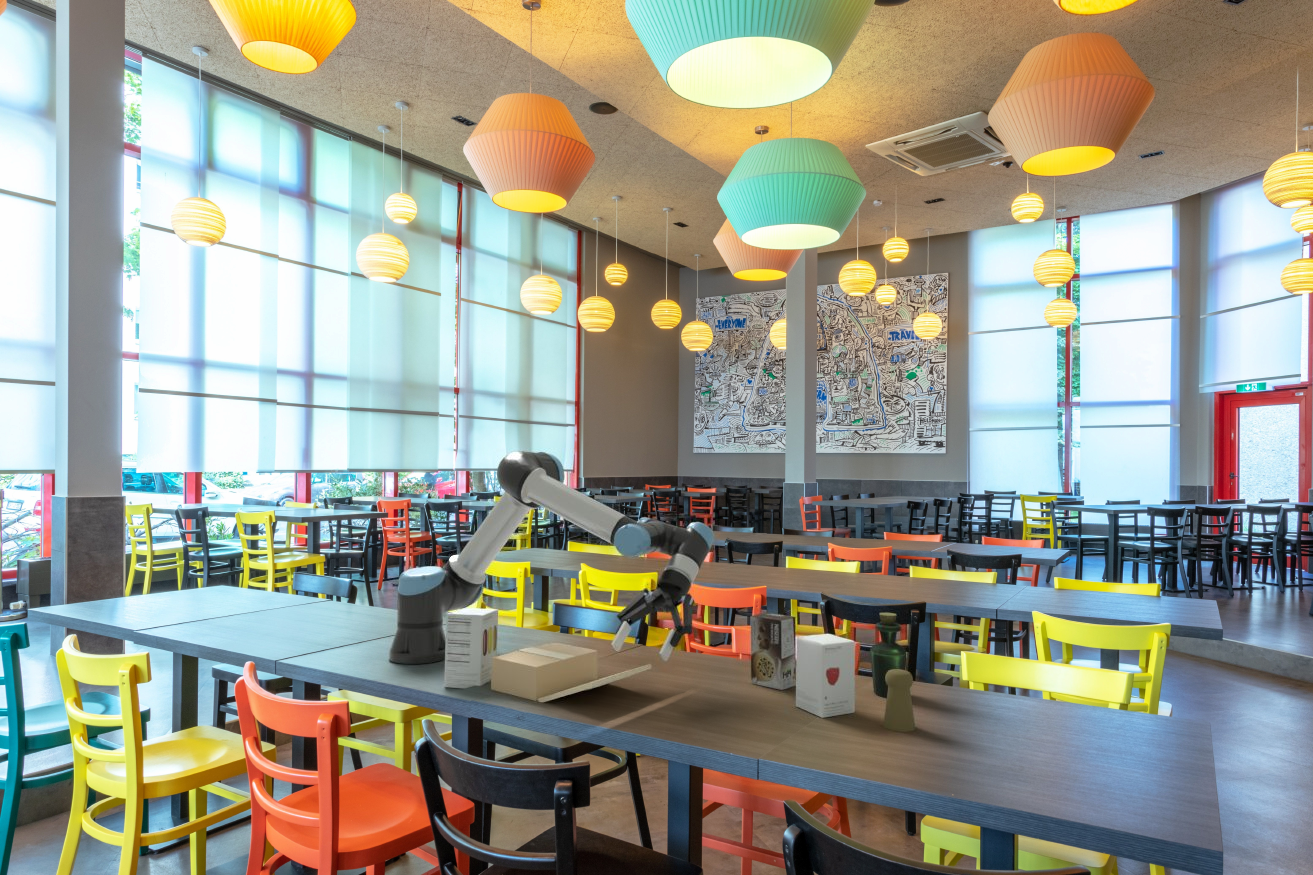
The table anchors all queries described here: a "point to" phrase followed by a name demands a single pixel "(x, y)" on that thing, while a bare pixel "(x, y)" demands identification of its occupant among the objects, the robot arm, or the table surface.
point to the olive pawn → (899, 701)
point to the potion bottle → (886, 653)
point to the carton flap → (595, 683)
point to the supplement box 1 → (470, 646)
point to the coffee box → (773, 650)
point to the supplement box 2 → (825, 675)
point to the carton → (543, 670)
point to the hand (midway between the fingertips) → (638, 652)
